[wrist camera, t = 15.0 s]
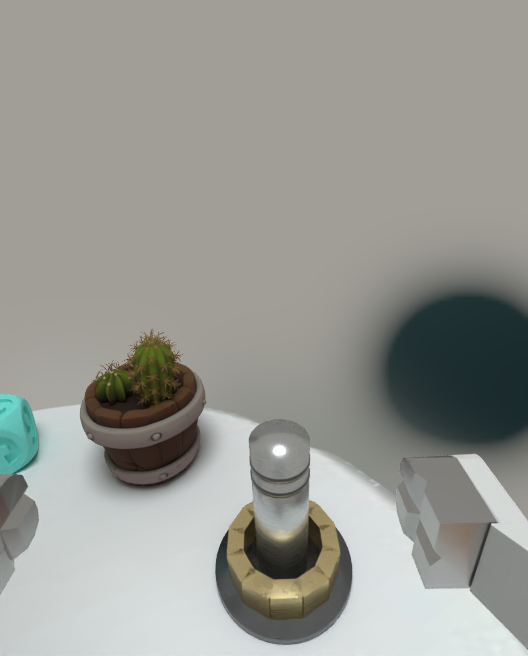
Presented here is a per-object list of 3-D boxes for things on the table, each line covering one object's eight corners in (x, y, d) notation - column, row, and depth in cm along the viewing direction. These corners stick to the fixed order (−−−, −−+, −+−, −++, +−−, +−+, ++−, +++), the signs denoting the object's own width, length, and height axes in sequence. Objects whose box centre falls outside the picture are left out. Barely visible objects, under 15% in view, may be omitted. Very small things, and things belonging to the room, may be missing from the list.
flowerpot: (75, 465, 49) (29, 329, 41) (171, 408, 60) (149, 289, 51) (136, 529, 41) (92, 372, 32) (236, 449, 51) (223, 314, 42)
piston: (257, 587, 34) (247, 463, 27) (257, 537, 38) (248, 420, 32) (311, 585, 34) (314, 461, 27) (305, 535, 38) (306, 418, 32)
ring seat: (208, 647, 31) (203, 621, 29) (222, 509, 42) (219, 485, 41) (367, 641, 31) (371, 614, 29) (337, 505, 42) (338, 480, 41)
